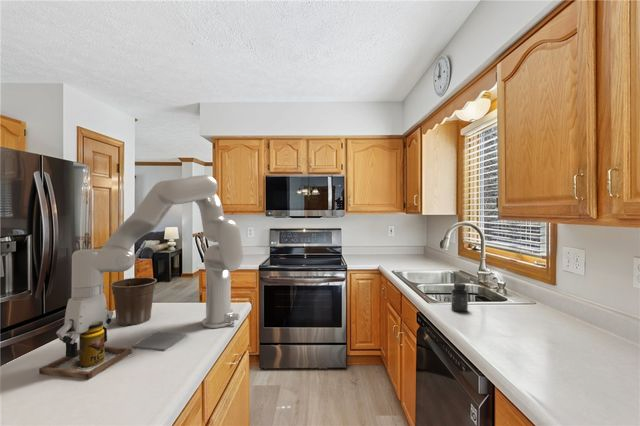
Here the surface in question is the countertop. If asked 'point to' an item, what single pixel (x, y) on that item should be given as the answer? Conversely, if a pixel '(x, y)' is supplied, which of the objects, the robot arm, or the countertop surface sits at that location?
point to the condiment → (90, 348)
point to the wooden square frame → (54, 371)
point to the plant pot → (133, 300)
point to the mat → (159, 341)
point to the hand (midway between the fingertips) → (87, 348)
